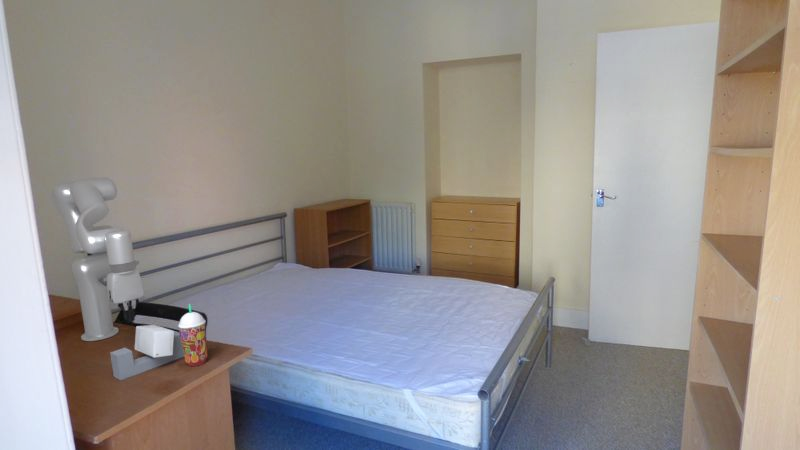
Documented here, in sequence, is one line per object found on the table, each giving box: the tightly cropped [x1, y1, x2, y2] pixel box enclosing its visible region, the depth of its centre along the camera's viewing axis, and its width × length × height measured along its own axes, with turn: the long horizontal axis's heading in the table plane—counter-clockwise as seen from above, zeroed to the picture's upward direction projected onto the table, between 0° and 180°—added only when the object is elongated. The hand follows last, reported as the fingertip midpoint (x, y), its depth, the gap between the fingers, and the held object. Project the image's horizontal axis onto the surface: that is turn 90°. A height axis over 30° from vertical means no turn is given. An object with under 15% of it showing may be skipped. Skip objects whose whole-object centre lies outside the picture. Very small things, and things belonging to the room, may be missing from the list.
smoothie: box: [177, 303, 208, 367], centre depth 165 cm, size 8×8×20 cm
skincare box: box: [134, 324, 175, 358], centre depth 167 cm, size 8×7×16 cm
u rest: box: [109, 330, 185, 381], centre depth 165 cm, size 5×21×8 cm, turn 141°
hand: (130, 320), depth 170 cm, fingers closed
